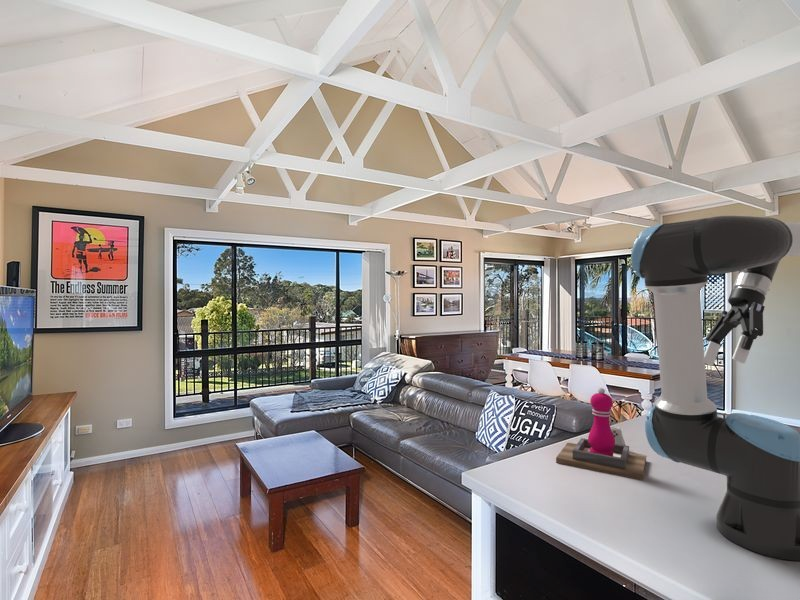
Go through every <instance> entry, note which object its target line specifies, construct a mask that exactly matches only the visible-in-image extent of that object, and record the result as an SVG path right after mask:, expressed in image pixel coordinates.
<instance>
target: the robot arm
mask: <svg viewBox="0 0 800 600" xmlns="http://www.w3.org/2000/svg"><path fill="white" fill-rule="evenodd" d="M633 242H634V243H633V245H632V249H631V254H630V255H631V256H630V263H631V264H630V265H631V268H632V270H633V273H634V274H635V275H636V276H637V277H638V278H641V279H644V286H645V288H646V289H647V290H649V291H650V292H652V294H653V302H654V303H653V305H654V315H655V316H654V317H655V328H656V342H657V353H658V365H659V380H660V391H661V393H660V394H661V396H660V397H658V398H657V399H655V401H654V405H653V406H652V407H650V408H649V410H648V411H647V413H646V416H645V418H646V420H645V421H644V429H645V430H644V431H645V436H646V440H647V442H648V444H649V446H650V448H651V449H652V451H653V452H655V453H656V454H657V455H658V456H661V457H663V458H666V459H669V460H671V461H673V462H675V463H682V464H685V465H688V466H690V467H691V466H692V467H695V468H699V469H702V470H705V471H707V472H708V471H709V472H713V473H716V474H719V475H723V476H725V477H726V493H725V494H724V497H723V499H722V502H721V504H720V506H719V508H718V510H717V513H716V519H715V520H716V525H715V526H716V529H717V531H718V532H719V533H720V535H722V536H724V538H726V539H727V540H729V541H731V542H733V543H734V544H735V545H739V546H741V547H742V548H744V549H747V550H749V551H753V552H755V553H758V554H761V555H765V556H768V557H772V558H776V559H781V560H788V561H798V562H799V561H800V432H798V431H797V430H796V429H795V428H793V427H791V426H789V425H788V424H785V423H783V422H780V421H778V420H775V419H771V418H768V417H763V416H759V415H754V414H747V413H744V412H743V413H741V412H732V413H729V414H728V415H726V418H725V417H720V416H718V411H717V408H718V407H717V405H716V404H715V403H714V402H713V401H712V400H711V399H709V398H708V386H707V373H706V365H708V366H710V367H713V366H714V363H715V361H716V358H717V356H718V354H719V350H720V348H721V346H722V344H721V342H722V341H724V339H725V338H726V336H727V335H729V333H730V332H731V331H732V330H733V329H735V328H737V327H738V326H740V327H741V330H742V332H741V333H740V334H741V335H740V337H739V339H738V341H737V345H736V346H735V349H734V351H733V355H732V357H731V359H732V360H733V361H736V362H737V363H738V362H739V363H741V364H746V362H747V358H748V356H749V353H750V351H751V348H752V346H753V343H754V340H756V339H757V338H758V337H762V336H763V335H764V311H765V307H766V306H765V305H764V302H765V301H766V296H767V294H768V292H769V291H770V286H771V285H772V282H773V279H774V276H775V273H776V271H777V269H778V266H779V263H780V261H781V260H782V259H783V258H787V257H788V258H789V257H793V256H800V222H799V221H798V222H797V221H796V222H794V221H793V222H789V221H787V222H786V221H785V222H784V221H782V220H780V219H777V218H774V217H763V216H762V217H760V216H752V215H751V216H748V215H747V216H746V215H719V216H711V217H705V218H704V217H703V218H698V219H691V220H685V221H677V222H668V223H665V222H663V223H661V224H658V225H652V226H648V227H646V228H644V229H643V230H642V231H641V232H639V234H638V235H637V237H636V239H635V240H634V241H633ZM735 272H738V274H737V276H736V278H735V281H734V283H733V285H732V290H731V291H730V294H729V296H728V299H727V301H728V304H729V305H730V306H731V307H730V309H729V310H728V311H727V310H723V311H722V312H721V314H720V316H719V318H718V319H717V321H716V322H715V324H714V325H713V327H712V328H711V330H710V331H709V333H708V335H707V336H706V337H705V341H707V342H708V344H707V347H706V348H705V347H704V332H703V320H702V319H703V318H702V305H701V304H702V303H701V289H702V288H704V287H705V286H706V285H707V284H708V281H709V279H708V275H723V274H729V273H735Z"/></svg>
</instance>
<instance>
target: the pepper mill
mask: <svg viewBox="0 0 800 600" xmlns="http://www.w3.org/2000/svg"><path fill="white" fill-rule="evenodd" d="M597 391H598V392H596V393H594V394H592V395H591V397H590V405H591V407H592V410H591V411H592V413H591V414H592V415H593V423H592V426H591V428H590V430H589V432H588V436H587V439H588V442H589V444H590V445H591V446H592V447H591V448H590V452H592V453H597V454H603V455H608V456H613V451H612V450H611V449H612V448H613V447H614V446H615V438H614V435H613V433H612V431H611V428H610V427H611V425H610V416H611V414H612V412H611V409H612V407H613V406H614V401H613V399H612V397H611V396H610V395H609V394H607V393H605V392H606V390H605V388H603V387H600V388H598V390H597Z"/></svg>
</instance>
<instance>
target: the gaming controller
mask: <svg viewBox="0 0 800 600" xmlns="http://www.w3.org/2000/svg"><path fill="white" fill-rule="evenodd" d="M610 428H611V431H612V433H613V435H614V438H615V444H620V445H626V442H625V439H624V436H623V432H622V429H621V427H620V426H618V427H616V426H610Z"/></svg>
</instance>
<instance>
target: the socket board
mask: <svg viewBox="0 0 800 600" xmlns="http://www.w3.org/2000/svg"><path fill="white" fill-rule="evenodd" d="M591 447H592V446H591V445H590V444H589V442H588V438H583V437H581V438H580V439H579V440H578V441H577V443H573V442H567V443H565V445H564V446H563V448H562V449H561V451H560V452H559V453H558V454H557V456H555V462H556V463H557V464H562V465H567V466H572V467H577V468H581V469H586V468H587V470H591V469H592V470H591V471H597V472H602V473H606V474H612V475H617V476H621V477H627V478H632V479H637V480H641V481H643V479H644V474H645V469H646V462H647V456H646V455H642V454H636V453H630V445H626V444H625V445H620V444H615V446H614V447H613V448H612V449H611V450H612V451H613V456H608V455H603V454H597V453H592V452H590V448H591Z"/></svg>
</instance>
